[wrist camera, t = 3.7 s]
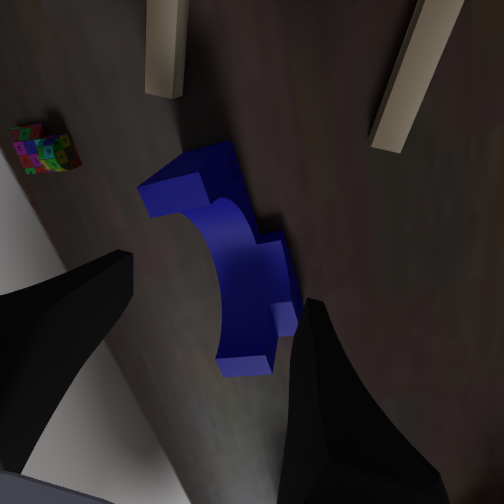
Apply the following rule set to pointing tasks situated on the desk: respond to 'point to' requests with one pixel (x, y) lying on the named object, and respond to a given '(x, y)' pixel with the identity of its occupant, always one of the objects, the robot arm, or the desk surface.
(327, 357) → the robot arm
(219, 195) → the cable clip
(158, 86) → the channel
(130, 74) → the desk surface
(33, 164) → the multicolored checkered block
